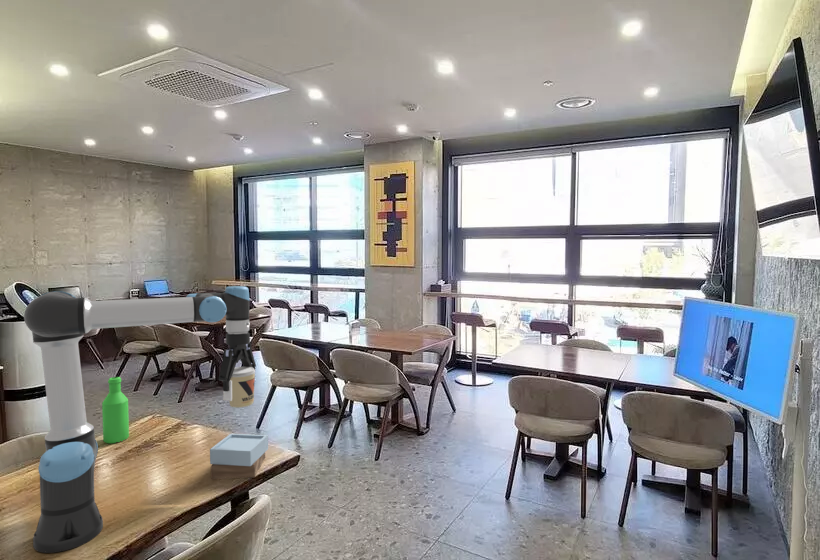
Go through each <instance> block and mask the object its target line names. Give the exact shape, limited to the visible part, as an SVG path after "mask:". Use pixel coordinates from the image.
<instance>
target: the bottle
mask: <svg viewBox="0 0 820 560" xmlns="http://www.w3.org/2000/svg"><path fill="white" fill-rule="evenodd" d="M121 382H122V378H121V377H120V376H113V377H110V378H108V381H107V384H108V390H109V391H108V393H107V396H106V397H105V398H104V400H103V401H102V403H101V406H102V407H101V409H102V411H101V412H102V414H101V415H102V416H101V417H102V441H103V442H104V443H105V444H117V443H116V442H118V443H120V441H121V442H123V440H124V441H125V439H126V440H127V439H128V438H130V424H129V423H130V422H129V420H130V419H129V398H128V397H127V396H126V395H125V394H124V393H123V392H122V390H121V389H122V388H121V387H122V385H121Z"/></svg>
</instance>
